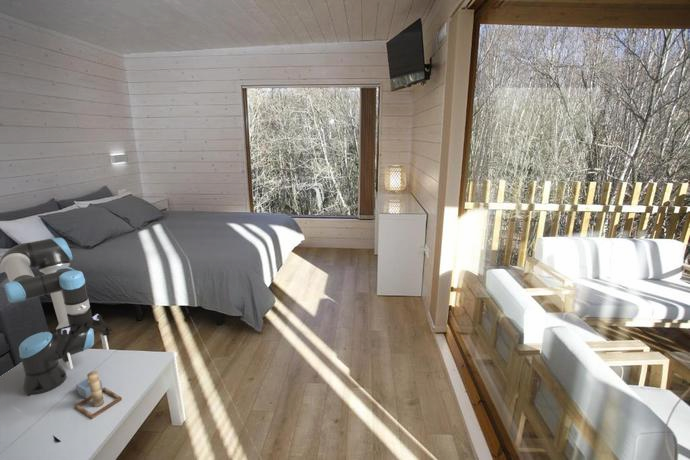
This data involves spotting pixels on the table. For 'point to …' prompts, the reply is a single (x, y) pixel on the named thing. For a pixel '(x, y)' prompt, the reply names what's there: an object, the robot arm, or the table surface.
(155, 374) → the table surface
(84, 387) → the blue grey open box
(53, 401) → the table surface
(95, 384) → the pestle
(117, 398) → the brown wooden frame
